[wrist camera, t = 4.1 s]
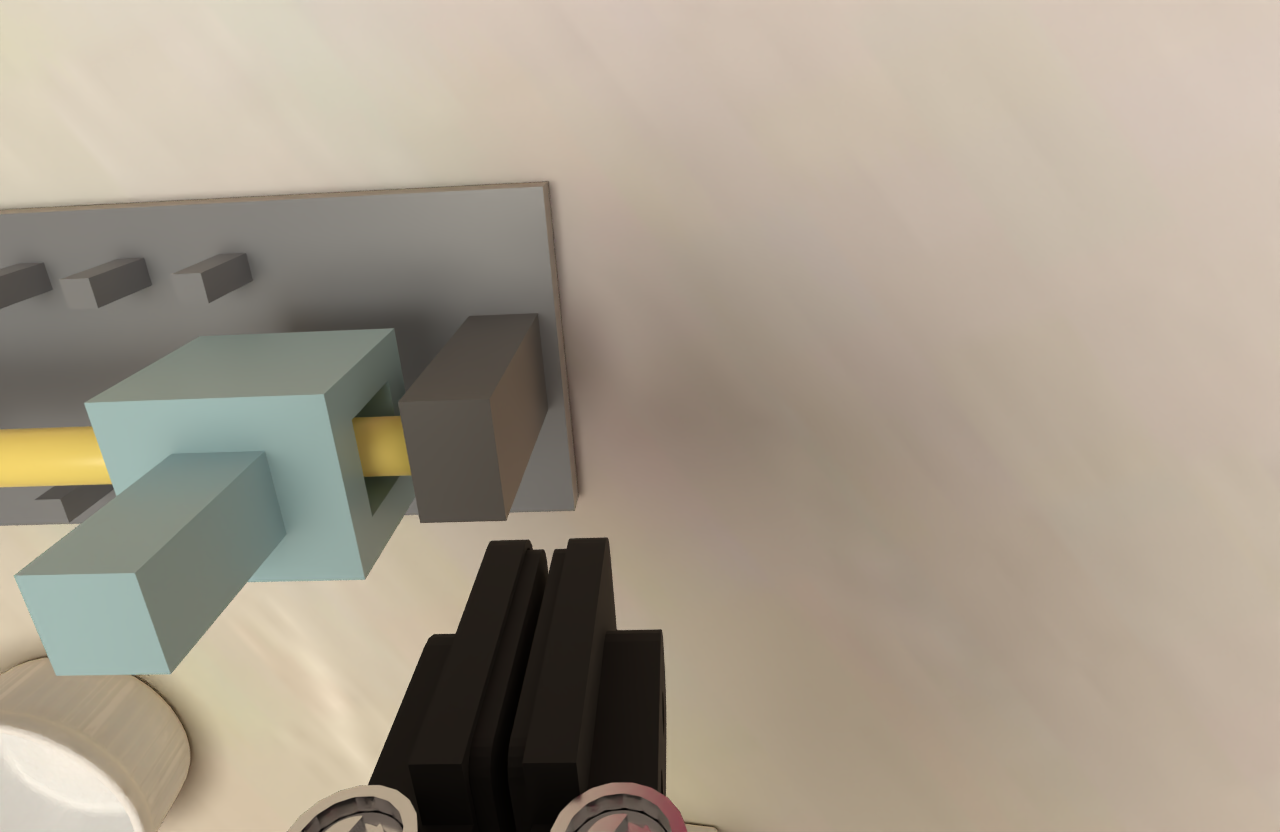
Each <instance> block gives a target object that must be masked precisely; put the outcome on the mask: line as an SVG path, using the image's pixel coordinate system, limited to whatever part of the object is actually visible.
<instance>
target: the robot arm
mask: <svg viewBox="0 0 1280 832" xmlns="http://www.w3.org/2000/svg"><path fill="white" fill-rule="evenodd" d="M287 832H687V829H686V826H685V823H684V821H683V818H682V815H681V813H680V811H679V810H678V809H677V808H676V807H675V805H674V804H673V803H672V802H671V801H670V800H669V798H667V797H666V687H665V665H664V647H663V634H662V630H617V628H616V616H615V604H614V592H613V581H612V569H611V557H610V547H609V540H608V538H574V539H569V541H568V545H567V549H555V550H554V553H553V557H552V561H551V565H550V570H549V574H548V567H547V559H546V553H545V551H544V550H543V549H542V550H533V548H532V544H531V542H530V540H501V541H491V542H490V543H489V544H488V547H487V549H486V552H485V555H484V558H483V560H482V563H481V566H480V569H479V571H478V574H477V577H476V580H475V582H474V585H473V588H472V591H471V593H470V596H469V599H468V601H467V604H466V607H465V610H464V612H463V615H462V618H461V621H460V623H459V626H458V629H457V632H456V634H434V635H432V636H431V637H430V638H429V639H428V641H427V643H426V645H425V647H424V649H423V652H422V654H421V657H420V659H419V661H418V664H417V666H416V669H415V671H414V674H413V676H412V679H411V681H410V683H409V686H408V688H407V691H406V693H405V696H404V698H403V701H402V703H401V706H400V708H399V710H398V713H397V715H396V718H395V720H394V723H393V725H392V728H391V730H390V732H389V735H388V737H387V740H386V742H385V745H384V747H383V750H382V752H381V754H380V757H379V759H378V762H377V764H376V767H375V769H374V772H373V774H372V777H371V779H370V781H369V784H368V785H360V786H356V787H352V788H348V789H345V790H341V791H338V792H336V793H334V794H332V795H330V796H328V797H326V798H324V799H322V800H320V801H318V802H317V803H316V804H314V805H313V806H312V807H311V808H309V809H308V810H307V811H305V812H304V813H303V814H302V815H300V817H299V818H298V819H297V820H296V821H295V823H294V824H293V825H292V826H291V827H290V829H289V830H288V831H287Z"/></svg>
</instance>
